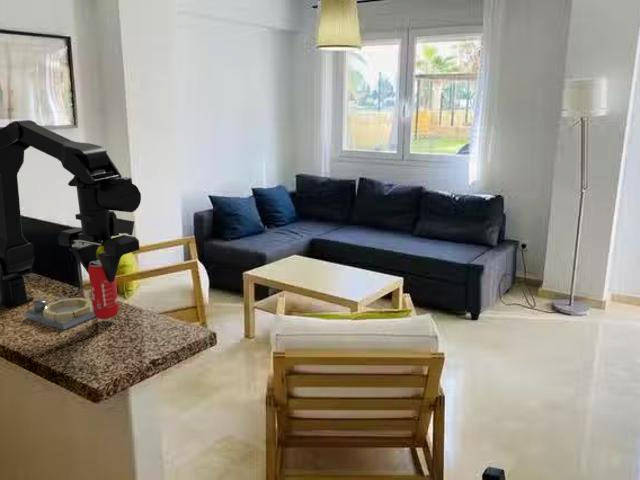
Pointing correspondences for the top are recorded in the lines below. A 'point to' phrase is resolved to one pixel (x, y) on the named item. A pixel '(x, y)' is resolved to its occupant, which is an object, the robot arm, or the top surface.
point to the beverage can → (102, 292)
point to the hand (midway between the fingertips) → (102, 279)
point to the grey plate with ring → (62, 312)
